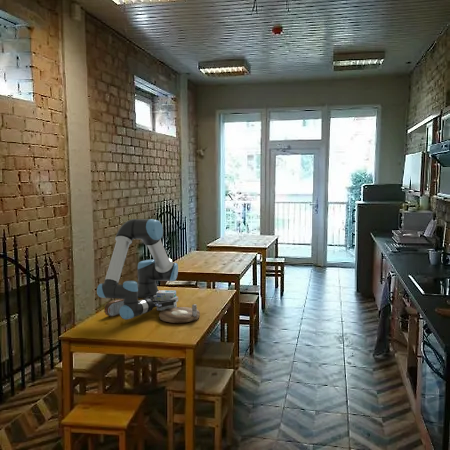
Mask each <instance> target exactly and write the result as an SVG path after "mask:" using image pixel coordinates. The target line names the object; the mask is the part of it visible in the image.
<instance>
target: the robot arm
mask: <svg viewBox="0 0 450 450" xmlns="http://www.w3.org/2000/svg"><path fill="white" fill-rule="evenodd" d="M163 233H164V230H163V225H162V223H161V222H160V220H158V219H153V218H150V219H149V218H148V219H147V218H145V219H144V218H143V219H142V218H141V219H140V218H138V219H137V218H132V219H128V220H126V221H125V222H124V223H123V224H122V225H121V226H120V228H119V229H118V231H117V233H116V234H115V237H114V238H115V239H114V240H115V244H114V249H113V251H112V255H111V258H110V261H109V263H108V264H109V265H108V267H107V268H108V269H107V271H106V275H105V278H104V280H103V281H104V282H103V283H99V284H98V285H97V288H96V293H97V296H98V297H99V298H101V299H102V298H103V299H115V300H118V299H124V305H123V306H122V307H121V308H120V310H119V313H120V314H119V316H120V317H121V318H122V320H123V319H124V320H130V319H134V318H135V317H138V316H142V315H144V314H146V313H149V312H151V311H152V310H153V309H154V308H157V307H158V308H161V307H165V306H172V305H174V303H175V302H176V303H177V302H179V296H176V297H174V298H172V299H170V300H162V301H160V300H156V293H157V292H158V291H159V290H160V289H159V288H158V284H157V281H161V282H175V281H176V280H177V278H178V274H179V264H178V263H177V262H173V260H172V259H171V258H170V257H169V256H168V255H167V254H168V253H167V251H166V249H165V247H164V244H163V242H162V238H163ZM134 240H141V241H142V243H143V245H145V246H147V248H148V250H149V252H150V254H151V256H152V258H153V259H145V260H141V261H139V262H138V263H137V281H136V280H125V281H124V282H123V283H122V284H119V282H120V278H121V276H122V272H123V268H124V264H125V262H126V258H127V254H128V251H129V247H130V245H132V243H133V241H134ZM139 299H140V300H139ZM158 301H159V303H158Z"/></svg>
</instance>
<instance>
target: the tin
mask: <svg viewBox="0 0 450 450" xmlns="http://www.w3.org/2000/svg"><path fill="white" fill-rule="evenodd" d="M123 305H124V299H114V300H111V301H110V300H109V301H108V302H107V303H106V304H105V305H104V313H105V315H106V316H109V317H112V318H113V317H116V316H120V313H119V310H120V308H121V307H122V306H123Z"/></svg>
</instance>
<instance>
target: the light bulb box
mask: <svg viewBox="0 0 450 450" xmlns="http://www.w3.org/2000/svg"><path fill="white" fill-rule="evenodd" d="M158 290H159V291H158V292H157V293H156V300H160V301H162V300H170V299H172V298H174V297H177V290H175V289H173V290H171V289H168V290H166V289H163V290H161V289H158ZM158 303H159V301H158ZM177 305H178V304H177V302H175V303H174V305H172V306H165V307H161V308H158V307H156V311H162V310H165V309H168V308H174V307H178V306H177Z"/></svg>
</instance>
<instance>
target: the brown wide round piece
mask: <svg viewBox="0 0 450 450" xmlns="http://www.w3.org/2000/svg"><path fill="white" fill-rule="evenodd" d="M200 314H201V313H200V311H199V309H198V307H197V304H196V303H195V304H192V305H191V307H187V306H177V307H174V308H168V309H165V310H160V312H159V316H158V318H159V320H161V321H163V322H167V323H173V324H175V323H176V324H177V323H178V324H180V323H188V322H189V323H190V322H193V321H196V320H198V319H199V318H200V316H201V315H200Z"/></svg>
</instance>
